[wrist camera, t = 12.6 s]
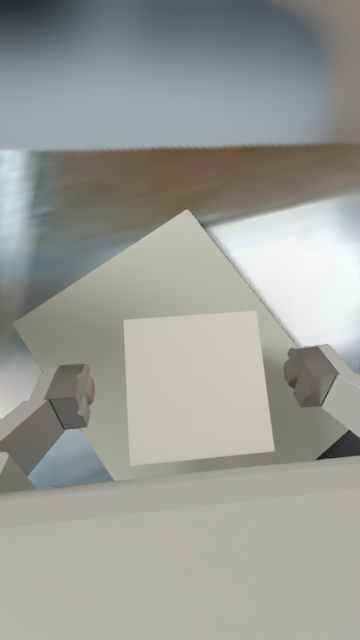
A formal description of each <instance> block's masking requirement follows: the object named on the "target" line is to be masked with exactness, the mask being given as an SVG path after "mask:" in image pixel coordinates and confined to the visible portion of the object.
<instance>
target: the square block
mask: <svg viewBox="0 0 360 640" xmlns="http://www.w3.org/2000/svg"><path fill="white" fill-rule="evenodd" d="M124 343H125V366H126V389H127V413H128V436H129V459H130V466H136V465H146V464H156V463H166V462H175V461H185V460H195V459H205V458H215V457H224V456H234V455H244V454H254V453H264V452H273V451H275V449H274V442H273V434H272V426H271V419H270V411H269V403H268V396H267V388H266V381H265V373H264V365H263V358H262V350H261V342H260V335H259V327H258V320H257V312H256V311H244V312H230V313H215V314H201V315H187V316H173V317H158V318H144V319H130V320H124Z"/></svg>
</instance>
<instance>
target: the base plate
mask: <svg viewBox="0 0 360 640" xmlns="http://www.w3.org/2000/svg"><path fill="white" fill-rule="evenodd" d="M244 311H256V312H257V320H258V327H259V335H260V342H261V350H262V358H263V365H264V373H265V381H266V388H267V396H268V403H269V411H270V419H271V426H272V434H273V442H274V449H275V451H273V452H264V453H254V454H244V455H234V456H224V457H215V458H205V459H195V460H185V461H175V462H166V463H156V464H146V465H136V466H130V459H129V436H128V413H127V389H126V366H125V343H124V320H130V319H144V318H158V317H173V316H187V315H201V314H215V313H230V312H244ZM12 325H13V326H14V328H15V329H16V331H17V332H18V334H19V336H20V337H21V339H22V340H23V342H24V343H25V345H26V346H27V348H28V349H29V351H30V352H31V354H32V355H33V357H34V359H35V360H36V362H37V363H38V365H39V366H40V368H41V369H42V371H43V370H44V368H46V367H47V366H60V365H72V364H88V366H89V369H90V373H89V376H90V377H92V378H93V381H94V385H95V396H94V401H93V403H92V404H91V405H90V406H89V408H90V410H91V414H90V418H89V422H88V427H85V428H80V429H81V431H82V432H83V434H84V435H85V437H86V438H87V440H88V441H89V443H90V444H91V446H92V448H93V449H94V451H95V452H96V454H97V455H98V457H99V458H100V460H101V461H102V463H103V464H104V466H105V468H106V469H107V471H108V472H109V474H110V475H111V477H112V478H113V480H114V481H120V480H129V479H139V478H149V477H158V476H168V475H177V474H187V473H196V472H206V471H215V470H225V469H235V468H244V467H254V466H264V465H273V464H283V463H293V462H302V461H312V460H316V459H317V458H318V457H319V456H320V455H321V454H322V453H323V452H325V451H326V450H327V449H328V448H329V447H330V446H331V445H332V444H334V443H335V442H336V441H337V440H338V439H339V438H340V437H341V436H343V435H344V434H345V433H346V432H347V431H348V430H349V429H348V428H347V427H345V426H344V425H343V424H342V423H340V422H339V421H338V420H337V419H335V418H334V417H333V416H332V415H330V414H329V413H328V412H327V411H325V410H324V409H323V408H322V406H318V407H303V408H301V407H300V406H299V404H298V402H297V400H296V398H295V397H294V395H293V392H294V389H293V388H292V387H290V386H289V385H288V384H287V382H286V380H285V377H284V371H283V368H284V364H285V362H286V361H287V360H288V359H289V357H288V355H287V354H288V351H289V349H290V348H293V347H297V346H296V345H295V343H294V342H293V341H292V339H291V338H290V337H289V336H288V334H287V333H286V332H285V331H284V329H283V328H282V327H281V326H280V324H279V323H278V322H277V321H276V319H275V318H274V317H273V316H272V314H271V313H270V312H269V311H268V309H267V308H266V307H265V306H264V304H263V303H262V302H261V301H260V299H259V298H258V297H257V296H256V294H255V293H254V292H253V290H252V289H251V288H250V287H249V285H248V284H247V283H246V282H245V280H244V279H243V278H242V277H241V275H240V274H239V273H238V272H237V270H236V269H235V268H234V267H233V265H232V264H231V263H230V262H229V260H228V259H227V258H226V257H225V255H224V254H223V253H222V252H221V250H220V249H219V248H218V247H217V245H216V244H215V243H214V242H213V240H212V239H211V238H210V236H209V235H208V234H207V233H206V231H205V230H204V229H203V228H202V226H201V225H200V224H199V223H198V221H197V220H196V219H195V218H194V216H193V215H192V214H191V213H190V211H189V210H188V209H187V210H185V211H184V212H182V213H181V214H179V215H178V216H176V217H175V218H173V219H172V220H170V221H168V222H167V223H165V224H164V225H162V226H161V227H159V228H158V229H156V230H155V231H153V232H152V233H150V234H149V235H147V236H145V237H144V238H142V239H141V240H139V241H138V242H136V243H135V244H133V245H132V246H130V247H129V248H127V249H126V250H124V251H122V252H121V253H119V254H118V255H116V256H115V257H113V258H112V259H110V260H109V261H107V262H106V263H104V264H102V265H101V266H99V267H98V268H96V269H95V270H93V271H92V272H90V273H89V274H87V275H86V276H84V277H83V278H81V279H79V280H78V281H76V282H75V283H73V284H72V285H70V286H69V287H67V288H66V289H64V290H63V291H61V292H60V293H58V294H56V295H55V296H53V297H52V298H50V299H49V300H47V301H46V302H44V303H43V304H41V305H40V306H38V307H37V308H35V309H33V310H32V311H30V312H29V313H27V314H26V315H24V316H23V317H21V318H20V319H18V320H17V321H15V322H13V323H12Z"/></svg>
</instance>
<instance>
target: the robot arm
mask: <svg viewBox="0 0 360 640" xmlns="http://www.w3.org/2000/svg"><path fill="white" fill-rule="evenodd" d="M287 355H288V357H289V359H288V360H287V361H286V362H285V364H284V368H283V371H284V377H285V380H286V382H287V384H288V385H289V386H290V387H292V388H293V389H294V392H293V395H294V397H295V398H296V400H297V402H298V404H299V406H300V407H301V408H303V407H318V406H322V408H323V409H324V410H325V411H327V412H328V413H329V414H330V415H332V416H333V417H334V418H335V419H337V420H338V421H339V422H340V423H342V424H343V425H344V426H345V427H347V428H348V429H349V430H350V431H352V432H353V433H354V434H355V435H357V436H358V437H359V438H360V374H359V373H354V372H353V371H352V370H351V369H350V368H349V366H348V365H347V364H346V363H345V362H344V361H343V360H342V358H341V357H340V356H339V355H338V354H337V353H336V352H335V350H334V349H333V348H332V347H331V346H330V345H328V344H326V345H315V346H304V347H293V348H290V349H289V351H288V354H287ZM89 373H90V369H89V366H88V364H72V365H60V366H47V367H46V368H44V370H43V372H42V374H41V376H40V378H39V380H38V382H37V384H36V386H35V388H34V390H33V392H32V395H31V397H30V399H29V401H24V402H23V403H22V404H20V405H19V406H18V407H17V408H15V409H14V410H13V411H12V412H10V413H9V414H8V415H7V416H5V417H4V418H3V419H2V420H0V640H360V456H350V457H341V458H331V459H322V460H312V461H302V462H293V463H283V464H273V465H264V466H254V467H244V468H235V469H225V470H215V471H206V472H196V473H187V474H177V475H168V476H158V477H149V478H139V479H129V480H120V481H110V482H101V483H91V484H81V485H72V486H62V487H53V488H43V489H36V487H35V485H34V484H33V483H32V482H31V481H30V479H29V478H28V477H27V476H28V475H29V474H30V473H31V471H32V470H33V469H34V468H35V466H36V465H37V464H38V463H39V462H40V460H41V459H42V458H43V457H44V456H45V454H46V453H47V452H48V451H49V449H50V448H51V447H52V446H53V445H54V443H55V442H56V441H57V440H58V439H59V437H60V436H61V435H62V434H63V432H64V430H68V429H76V428H85V427H88V422H89V418H90V414H91V410H90V408H89V406H90V405H91V404H92V403H93V401H94V396H95V385H94V381H93V378H92V377H90V376H89Z"/></svg>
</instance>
